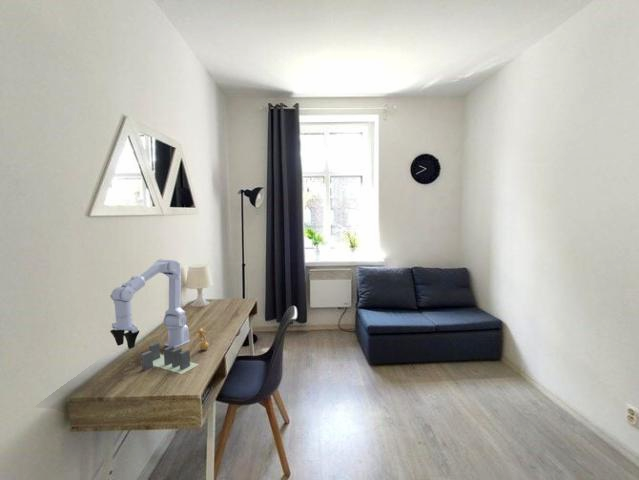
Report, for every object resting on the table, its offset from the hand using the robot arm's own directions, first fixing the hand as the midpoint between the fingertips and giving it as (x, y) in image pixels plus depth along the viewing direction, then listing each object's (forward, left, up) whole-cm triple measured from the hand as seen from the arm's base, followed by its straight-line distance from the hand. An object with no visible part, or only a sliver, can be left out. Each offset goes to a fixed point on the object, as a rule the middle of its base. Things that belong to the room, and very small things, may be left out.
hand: (125, 346), depth 132 cm
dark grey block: (-11, +18, -10) cm, 23 cm away
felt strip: (-11, +13, -10) cm, 19 cm away
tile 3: (-11, +13, -10) cm, 19 cm away
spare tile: (-4, +8, -10) cm, 13 cm away
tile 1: (-11, +3, -10) cm, 15 cm away
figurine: (-27, +17, -10) cm, 33 cm away
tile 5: (-11, +22, -10) cm, 27 cm away
